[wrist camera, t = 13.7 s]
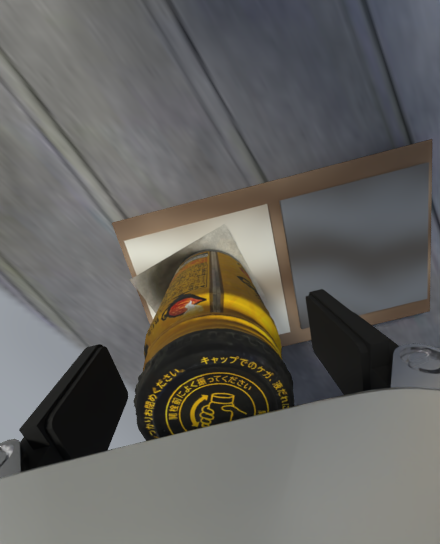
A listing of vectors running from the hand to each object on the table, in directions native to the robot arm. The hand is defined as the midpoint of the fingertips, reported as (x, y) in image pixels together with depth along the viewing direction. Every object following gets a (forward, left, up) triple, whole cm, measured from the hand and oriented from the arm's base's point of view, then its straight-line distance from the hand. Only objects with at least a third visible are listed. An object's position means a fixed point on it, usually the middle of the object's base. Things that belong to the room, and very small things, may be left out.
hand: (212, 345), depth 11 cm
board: (+1, +6, -10) cm, 12 cm away
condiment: (0, -1, -9) cm, 9 cm away
